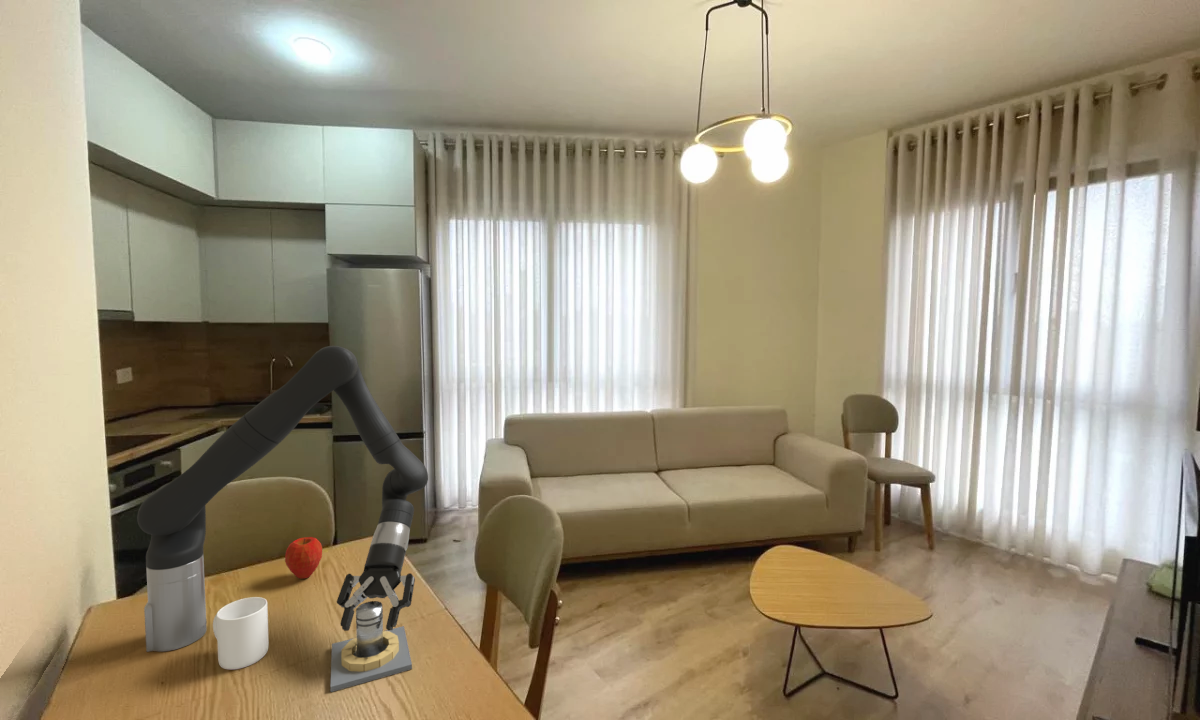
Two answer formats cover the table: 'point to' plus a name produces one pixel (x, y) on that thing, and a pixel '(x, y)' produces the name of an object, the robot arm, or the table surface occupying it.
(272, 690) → the table surface
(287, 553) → the apple
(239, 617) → the mug
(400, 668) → the ring block
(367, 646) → the piston
